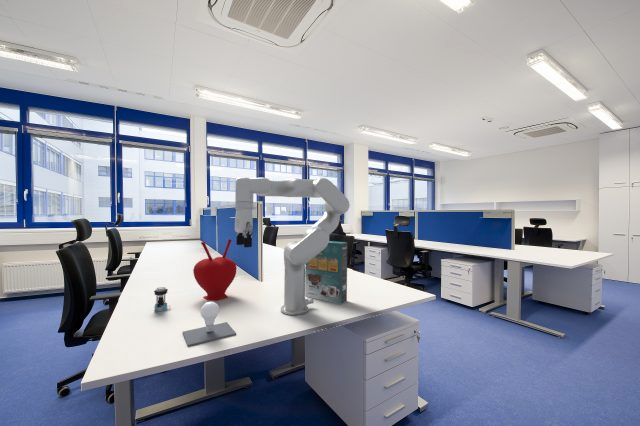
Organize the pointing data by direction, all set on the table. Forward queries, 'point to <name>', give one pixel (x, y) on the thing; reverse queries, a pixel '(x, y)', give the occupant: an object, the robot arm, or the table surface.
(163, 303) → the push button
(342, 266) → the cake mix box
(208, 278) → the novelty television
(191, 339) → the desk mat
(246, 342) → the table surface
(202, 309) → the lightbulb
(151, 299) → the table surface
